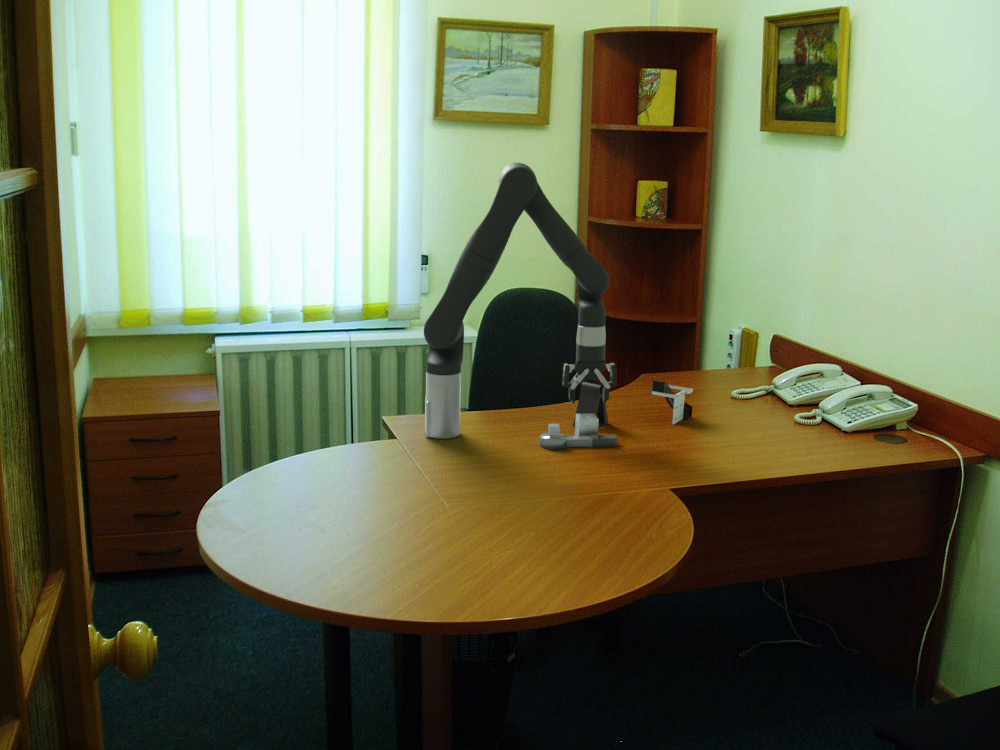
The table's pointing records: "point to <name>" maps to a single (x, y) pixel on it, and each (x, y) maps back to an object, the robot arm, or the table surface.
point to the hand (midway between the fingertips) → (588, 402)
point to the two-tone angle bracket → (674, 399)
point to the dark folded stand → (592, 402)
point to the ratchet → (573, 439)
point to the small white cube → (586, 425)
